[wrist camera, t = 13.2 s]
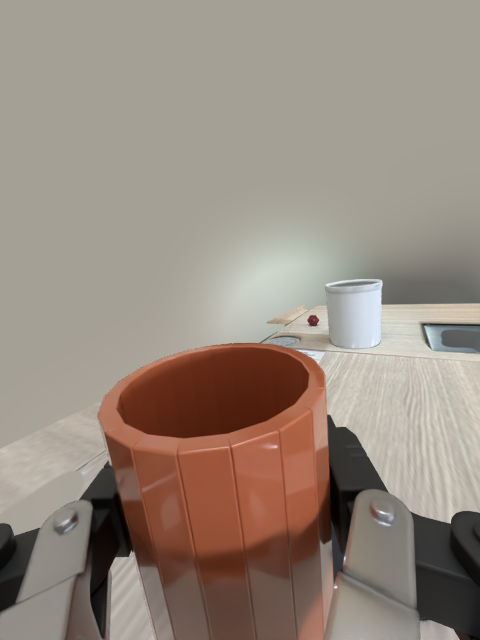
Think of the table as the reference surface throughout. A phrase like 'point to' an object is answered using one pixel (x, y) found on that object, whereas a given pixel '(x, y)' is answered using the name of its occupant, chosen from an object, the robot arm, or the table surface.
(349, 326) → the utensil holder
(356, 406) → the table surface
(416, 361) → the table surface
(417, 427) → the table surface
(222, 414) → the cup
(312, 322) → the dice
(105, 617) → the robot arm
